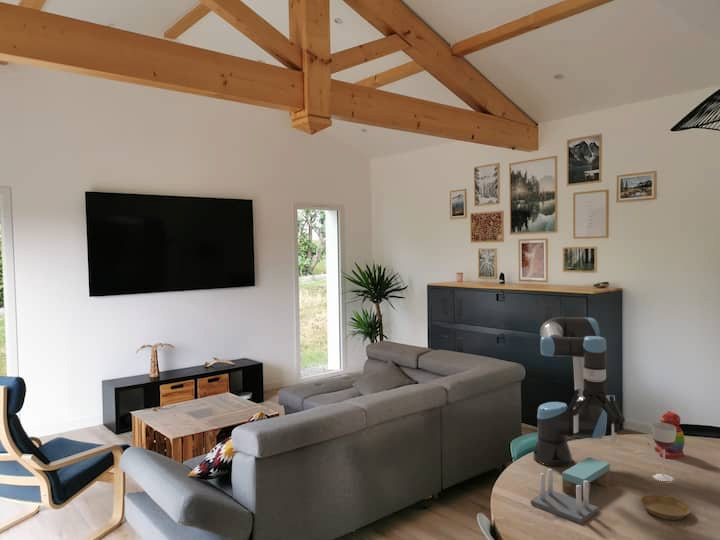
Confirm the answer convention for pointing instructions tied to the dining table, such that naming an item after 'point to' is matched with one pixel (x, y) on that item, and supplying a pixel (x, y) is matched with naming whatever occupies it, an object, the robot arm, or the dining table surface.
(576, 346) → the robot arm
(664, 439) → the wineglass
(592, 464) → the shelf board
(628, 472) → the dining table surface
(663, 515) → the plant saucer
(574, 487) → the blocks
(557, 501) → the peg stand
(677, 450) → the stacking bear
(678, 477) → the dining table surface
